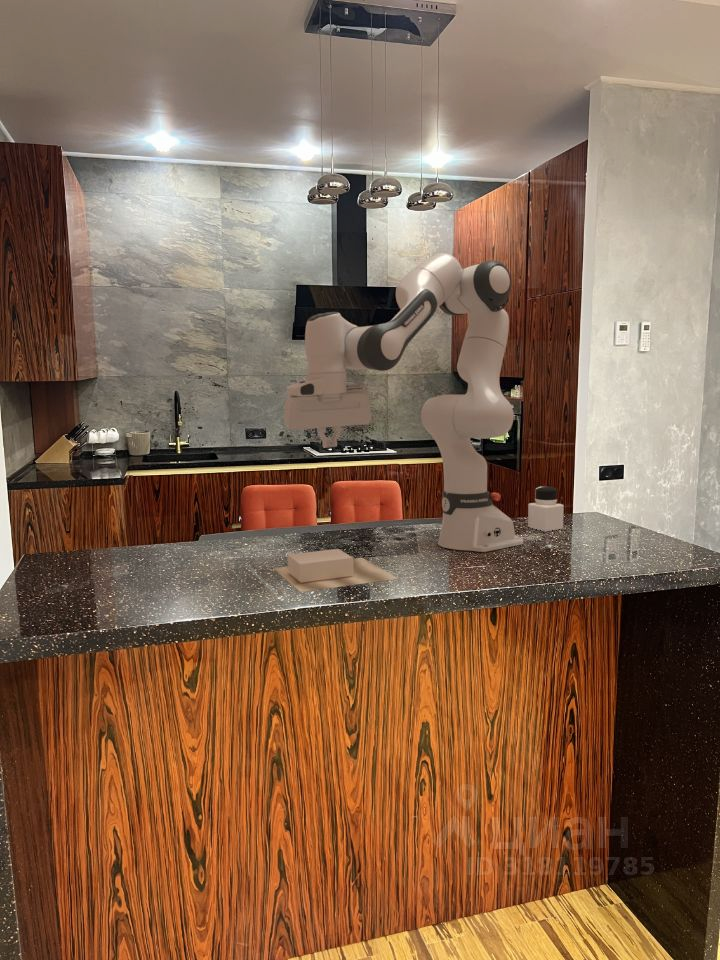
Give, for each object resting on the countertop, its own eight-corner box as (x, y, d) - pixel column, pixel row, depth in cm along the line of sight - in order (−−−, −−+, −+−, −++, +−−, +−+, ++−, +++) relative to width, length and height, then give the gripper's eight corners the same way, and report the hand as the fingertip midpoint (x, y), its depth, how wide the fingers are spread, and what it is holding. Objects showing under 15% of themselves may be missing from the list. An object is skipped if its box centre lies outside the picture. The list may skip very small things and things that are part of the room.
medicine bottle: (563, 529, 201) (564, 487, 199) (545, 532, 198) (546, 489, 196) (545, 524, 207) (546, 484, 205) (527, 527, 204) (528, 486, 202)
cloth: (362, 561, 169) (362, 557, 168) (398, 583, 150) (398, 578, 150) (273, 572, 160) (273, 568, 160) (300, 596, 142) (300, 591, 142)
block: (338, 548, 160) (287, 554, 155) (353, 557, 151) (300, 564, 147) (338, 566, 160) (287, 573, 156) (353, 576, 152) (300, 583, 147)
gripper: (363, 383, 165) (365, 441, 168) (279, 388, 157) (283, 449, 160) (374, 383, 160) (376, 444, 162) (288, 388, 152) (292, 452, 154)
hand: (329, 446), depth 161 cm, fingers closed
